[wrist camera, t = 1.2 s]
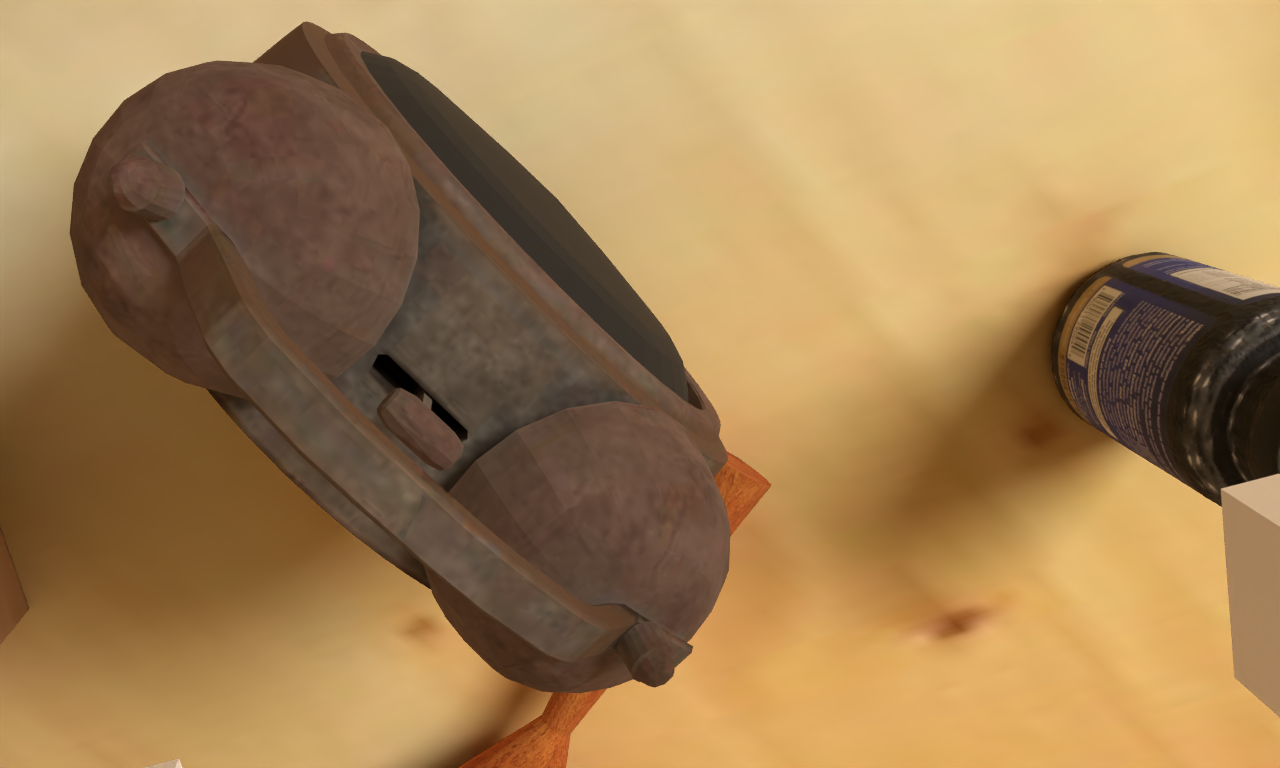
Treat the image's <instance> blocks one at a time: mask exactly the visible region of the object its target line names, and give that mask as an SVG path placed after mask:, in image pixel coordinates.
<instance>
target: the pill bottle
mask: <svg viewBox="0 0 1280 768" xmlns="http://www.w3.org/2000/svg"><path fill="white" fill-rule="evenodd" d="M1051 354H1052V370H1053V374H1054V379H1055V382H1056V385H1057V387H1058V389H1059V392H1060V394H1061V396H1062V398H1063V399H1064V401H1065V402H1066V403H1067V405H1068V406H1069V407H1070V409H1071V410H1072V411H1073V412H1074V413H1075V414H1076V415H1078V416H1079V417H1080V418H1081V419H1082V420H1084V421H1085V422H1087V423H1088V424H1090V425H1092V426H1093V427H1095V428H1097V429H1098V430H1100V431H1101V432H1103V433H1105V434H1106V435H1108V436H1109V437H1111V438H1112V439H1114V440H1116V441H1117V442H1119V443H1120V444H1122V445H1123V446H1125V447H1127V448H1128V449H1130V450H1131V451H1133V452H1135V453H1136V454H1138V455H1139V456H1141V457H1143V458H1144V459H1146V460H1148V461H1149V462H1151V463H1152V464H1154V465H1156V466H1157V467H1159V468H1160V469H1162V470H1164V471H1165V472H1167V473H1168V474H1170V475H1172V476H1173V477H1175V478H1177V479H1178V480H1180V481H1181V482H1183V483H1184V484H1186V485H1188V486H1189V487H1191V488H1192V489H1194V490H1195V491H1197V492H1199V493H1200V494H1202V495H1203V496H1204V497H1206V498H1208V499H1210V500H1211V501H1213V502H1215V503H1217V504H1218V505H1219V506H1221V507H1222V499H1221V489H1222V488H1226V487H1229V486H1233V485H1237V484H1241V483H1245V482H1249V481H1253V480H1256V479H1260V478H1264V477H1268V476H1272V475H1276V474H1280V288H1279V287H1276V286H1272V285H1269V284H1266V283H1263V282H1259V281H1256V280H1253V279H1250V278H1247V277H1243V276H1240V275H1237V274H1233V273H1230V272H1227V271H1224V270H1221V269H1217V268H1214V267H1211V266H1208V265H1204V264H1201V263H1198V262H1194V261H1191V260H1188V259H1184V258H1181V257H1177V256H1174V255H1170V254H1166V253H1160V252H1150V253H1144V254H1138V255H1132V256H1129V257H1125V258H1123V259H1120V260H1118V261H1117V262H1115V263H1113V264H1110V265H1108V266H1106V267H1105V268H1103V269H1102V270H1100V271H1098V272H1097V273H1095V274H1094V275H1093V276H1091V277H1090V278H1088V279H1087V280H1086V281H1085V282H1084V283H1083V285H1082V286H1080V287H1079V288H1078V289H1077V290H1076V292H1075V294H1074V295H1073V296H1072V298H1071V299H1070V301H1069V302H1068V304H1067V305H1066V306H1065V308H1064V309H1063V312H1062V314H1061V316H1060V318H1059V320H1058V323H1057V326H1056V331H1055V333H1054V336H1053V340H1052V349H1051Z"/></svg>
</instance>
